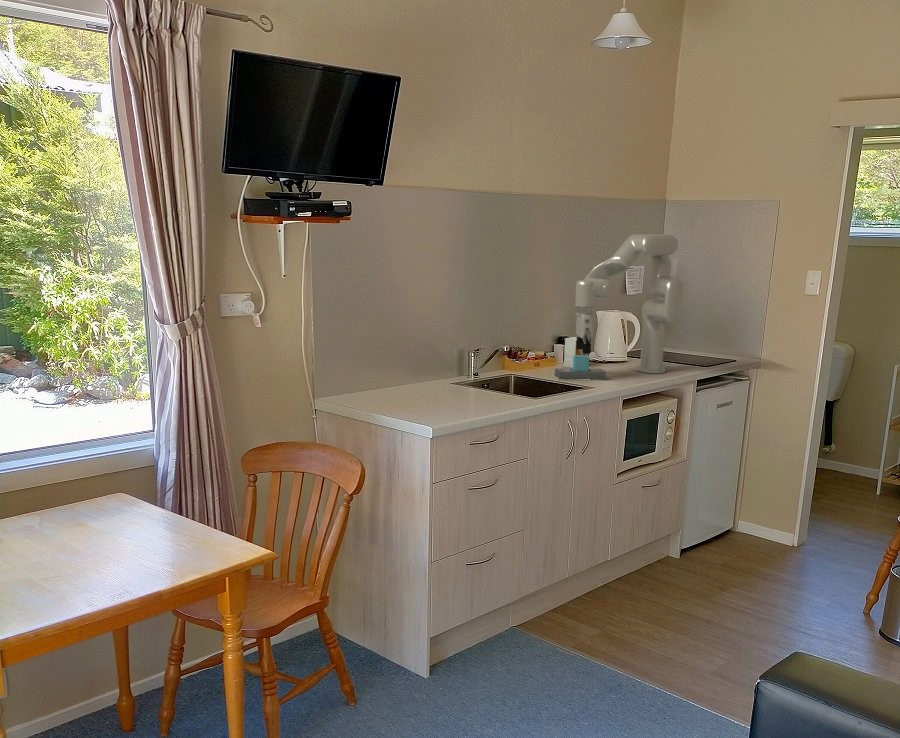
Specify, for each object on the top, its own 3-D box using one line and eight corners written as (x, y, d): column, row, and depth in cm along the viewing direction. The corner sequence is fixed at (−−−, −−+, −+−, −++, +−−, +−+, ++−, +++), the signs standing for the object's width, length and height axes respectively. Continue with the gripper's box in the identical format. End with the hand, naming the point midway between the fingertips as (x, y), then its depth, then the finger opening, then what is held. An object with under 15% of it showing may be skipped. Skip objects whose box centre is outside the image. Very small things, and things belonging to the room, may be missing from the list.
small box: (574, 368, 358) (576, 339, 356) (563, 366, 363) (564, 337, 360) (585, 366, 364) (587, 338, 361) (574, 364, 368) (575, 336, 366)
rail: (600, 376, 341) (601, 368, 341) (605, 380, 335) (606, 371, 334) (554, 376, 339) (555, 368, 338) (558, 379, 332) (559, 371, 331)
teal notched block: (586, 376, 339) (587, 355, 337) (588, 377, 336) (589, 356, 334) (572, 376, 338) (573, 355, 336) (574, 377, 335) (575, 356, 333)
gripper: (599, 312, 324) (598, 354, 327) (587, 307, 340) (586, 347, 344) (581, 313, 323) (580, 355, 326) (569, 307, 340) (568, 347, 343)
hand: (583, 351), depth 335 cm, fingers open, 9 cm apart
